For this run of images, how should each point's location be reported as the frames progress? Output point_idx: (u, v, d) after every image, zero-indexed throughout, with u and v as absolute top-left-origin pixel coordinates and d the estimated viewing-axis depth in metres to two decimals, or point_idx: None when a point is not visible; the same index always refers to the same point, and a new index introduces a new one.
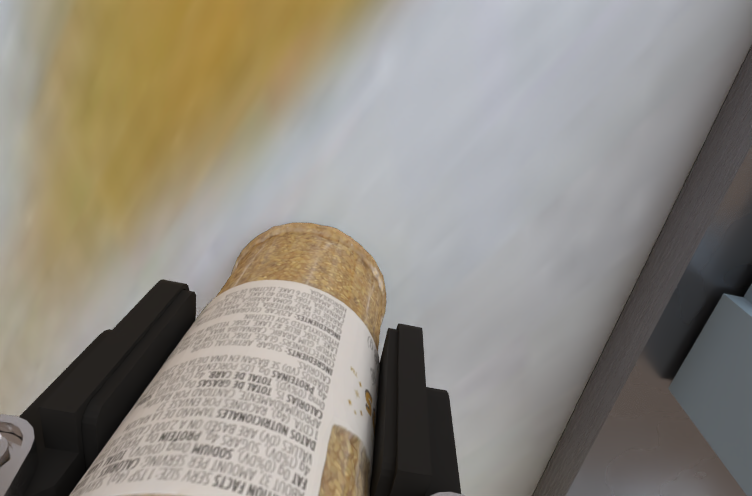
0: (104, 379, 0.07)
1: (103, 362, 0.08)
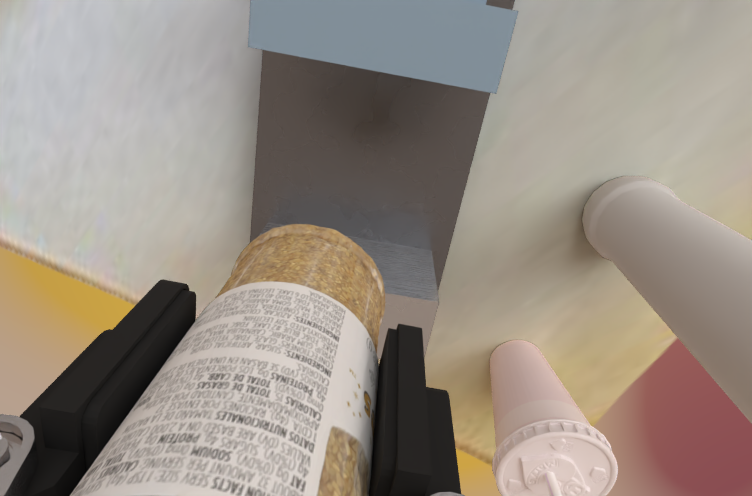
0: (104, 379, 0.07)
1: (103, 362, 0.08)
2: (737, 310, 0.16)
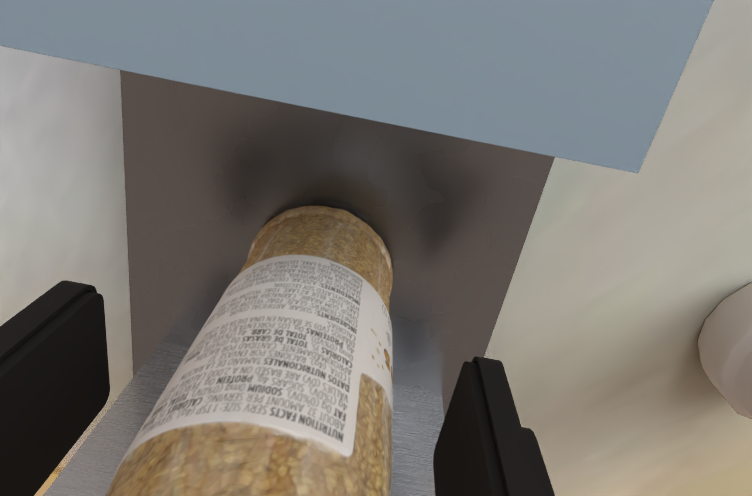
0: None
1: None
2: None
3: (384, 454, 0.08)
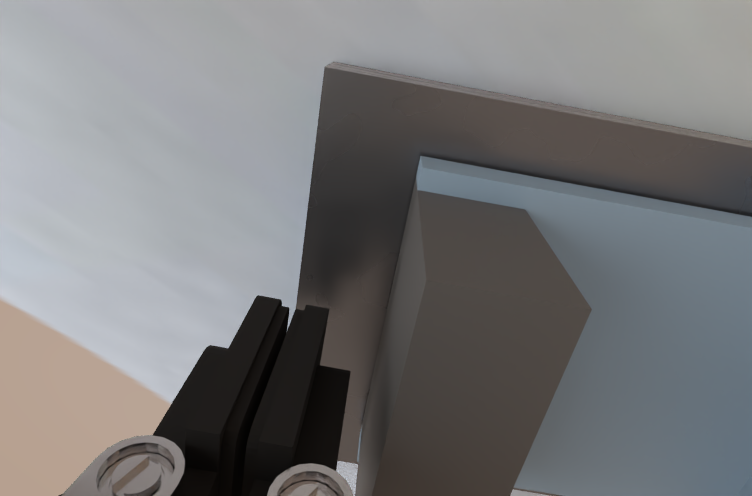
0: (236, 399, 0.07)
1: (230, 381, 0.08)
2: None
3: None
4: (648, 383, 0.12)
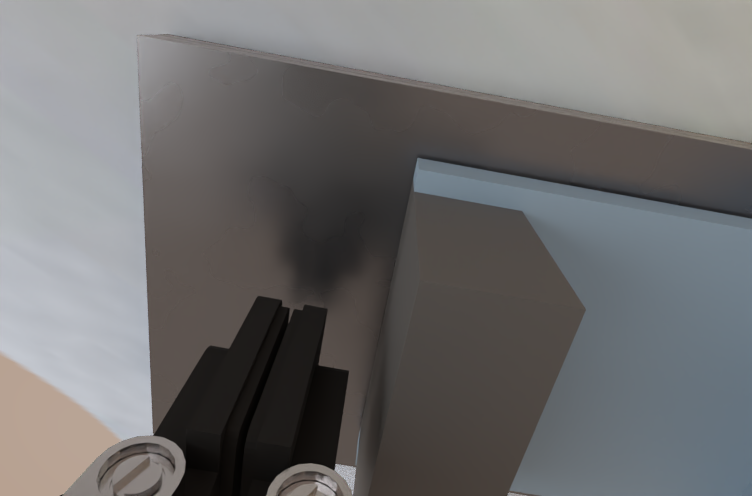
0: (237, 399, 0.07)
1: (231, 382, 0.08)
2: None
3: None
4: (647, 385, 0.12)
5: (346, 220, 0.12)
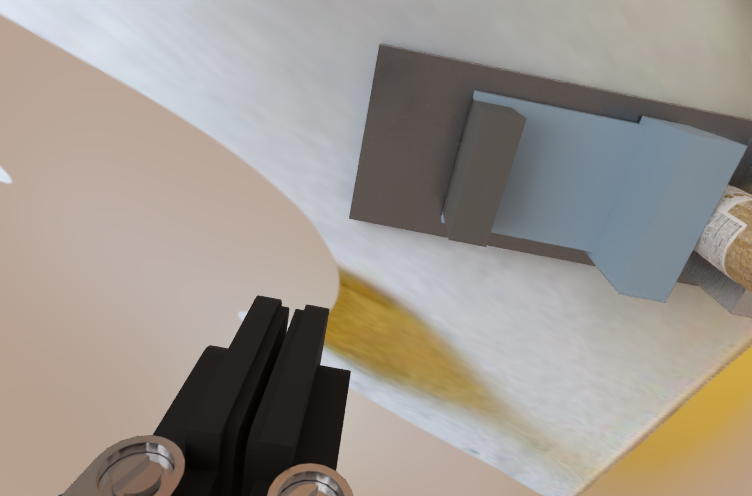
0: (235, 399, 0.07)
1: (230, 381, 0.08)
2: None
3: None
4: (558, 181, 0.32)
5: (445, 115, 0.32)
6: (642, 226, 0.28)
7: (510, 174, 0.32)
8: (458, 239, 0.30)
